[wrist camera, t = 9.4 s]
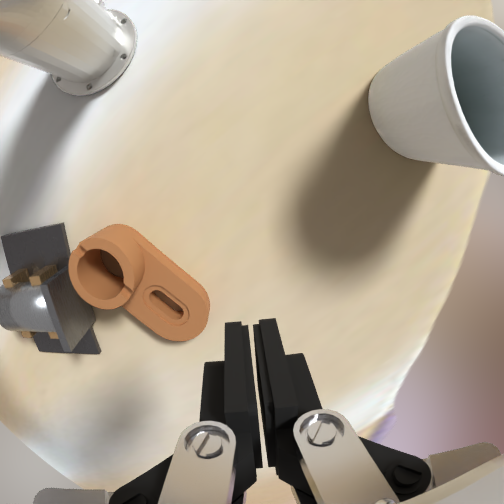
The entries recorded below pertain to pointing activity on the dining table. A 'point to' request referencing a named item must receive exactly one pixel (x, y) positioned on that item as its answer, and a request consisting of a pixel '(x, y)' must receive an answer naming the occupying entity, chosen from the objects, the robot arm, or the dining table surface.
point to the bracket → (139, 283)
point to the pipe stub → (45, 293)
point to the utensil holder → (446, 97)
